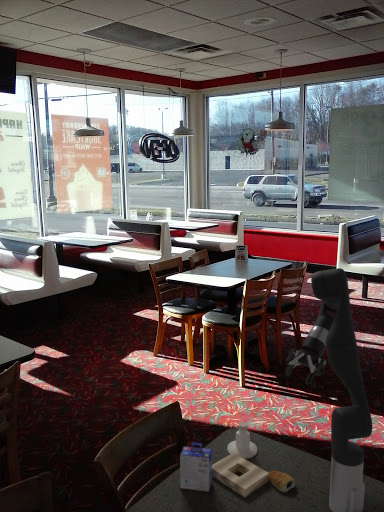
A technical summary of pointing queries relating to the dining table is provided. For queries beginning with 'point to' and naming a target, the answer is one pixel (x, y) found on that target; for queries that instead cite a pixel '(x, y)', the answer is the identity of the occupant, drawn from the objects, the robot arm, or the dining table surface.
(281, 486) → the pastry
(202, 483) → the ink cartridge box
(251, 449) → the white dome
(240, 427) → the salt shaker
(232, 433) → the dining table surface
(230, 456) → the socket block
